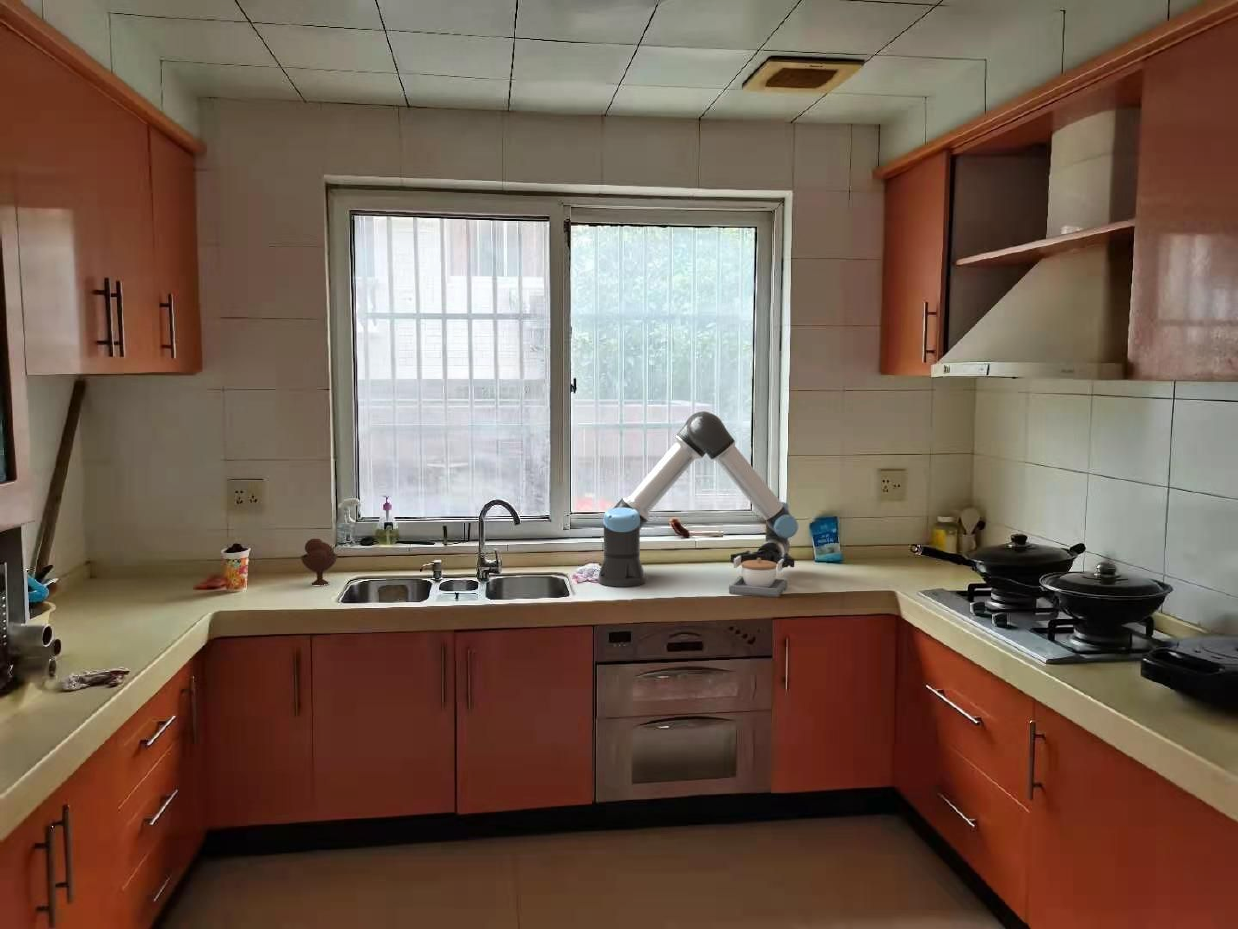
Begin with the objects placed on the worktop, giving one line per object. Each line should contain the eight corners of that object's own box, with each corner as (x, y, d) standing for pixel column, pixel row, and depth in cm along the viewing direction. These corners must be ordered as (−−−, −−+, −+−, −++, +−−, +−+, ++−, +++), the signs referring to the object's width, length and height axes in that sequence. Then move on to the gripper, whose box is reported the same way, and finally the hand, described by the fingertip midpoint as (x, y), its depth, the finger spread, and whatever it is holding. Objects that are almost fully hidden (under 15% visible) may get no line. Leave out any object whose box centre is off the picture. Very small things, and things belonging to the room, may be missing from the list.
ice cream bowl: (324, 589, 279) (322, 542, 278) (294, 586, 282) (293, 540, 281) (344, 582, 289) (343, 536, 288) (316, 580, 292) (314, 534, 291)
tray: (729, 593, 272) (729, 585, 272) (740, 583, 286) (740, 575, 286) (777, 597, 267) (778, 589, 267) (787, 587, 281) (787, 579, 281)
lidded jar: (774, 584, 281) (775, 555, 281) (777, 592, 271) (778, 561, 270) (740, 583, 283) (741, 554, 282) (742, 591, 272) (742, 561, 271)
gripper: (808, 567, 288) (797, 580, 269) (733, 561, 297) (717, 574, 278) (809, 544, 288) (797, 556, 268) (733, 539, 297) (717, 550, 277)
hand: (756, 565), depth 273 cm, fingers open, 13 cm apart
